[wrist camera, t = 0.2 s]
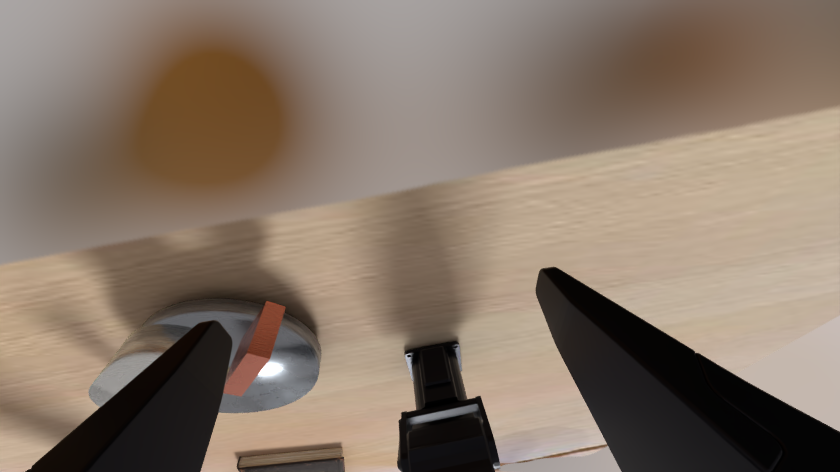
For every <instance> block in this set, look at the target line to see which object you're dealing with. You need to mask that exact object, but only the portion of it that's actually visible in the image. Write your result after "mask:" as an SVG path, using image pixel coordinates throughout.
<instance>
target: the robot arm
mask: <svg viewBox="0 0 840 472" xmlns="http://www.w3.org/2000/svg"><path fill="white" fill-rule="evenodd" d="M536 295H537V298H538V301H539V303H540V306H541V309H542V311H543V314H544V316H545V319H546V321H547V324H548V327H549V329H550V332H551V334H552V337H553V339H554V342H555V344H556V346H557V348H558V350H559V352H560V354H561V356H562V358H563V360H564V362H565V364H566V366H567V368H568V370H569V372H570V373H571V375H572V377H573V379H574V381H575V383H576V385H577V387H578V389H579V391H580V393H581V395H582V397H583V398H584V400H585V402H586V404H587V406H588V408H589V410H590V412H591V414H592V416H593V418H594V420H595V421H596V423H597V425H598V427H599V429H600V431H601V433H602V435H603V437H604V439H605V441H606V443H607V445H608V446H609V448H610V450H611V452H612V454H613V456H614V458H615V460H616V462H617V464H618V466H619V467H620V469H621V471H622V472H840V432H839V431H837V430H835V429H833V428H832V427H830V426H828V425H826V424H824V423H822V422H820V421H818V420H816V419H815V418H813V417H811V416H809V415H807V414H805V413H803V412H802V411H800V410H798V409H796V408H794V407H792V406H790V405H788V404H786V403H785V402H783V401H781V400H779V399H777V398H775V397H774V396H772V395H770V394H768V393H766V392H765V391H763V390H761V389H759V388H757V387H755V386H753V385H752V384H750V383H748V382H746V381H745V380H743V379H741V378H740V377H738V376H736V375H735V374H733V373H731V372H729V371H728V370H726V369H724V368H723V367H721V366H719V365H717V364H716V363H714V362H712V361H711V360H709V359H707V358H706V357H704V356H703V355H701V354H699V353H695V351H694V350H692V349H691V348H689V347H687V346H686V345H684V344H682V343H681V342H679V341H677V340H676V339H674V338H673V337H671V336H669V335H668V334H666V333H664V332H663V331H661V330H659V329H658V328H656V327H654V326H653V325H651V324H649V323H648V322H646V321H644V320H643V319H641V318H639V317H638V316H636V315H634V314H633V313H631V312H629V311H628V310H626V309H625V308H623V307H621V306H620V305H618V304H616V303H615V302H613V301H611V300H610V299H608V298H606V297H605V296H603V295H601V294H600V293H598V292H596V291H595V290H593V289H591V288H590V287H588V286H586V285H585V284H583V283H581V282H580V281H578V280H577V279H575V278H573V277H572V276H570V275H568V274H567V273H565V272H563V271H562V270H560V269H558V268H556V267H549V268H543V269H541V270H540V271H539V275H538V280H537V284H536ZM232 345H233V342H232V338H231V336H230V335H229V333H228V332H227V331H226V330H225V328H224V327H223V326H222V325H221V323H220V322H219V321H217V320H211V321H204V322H200V323H198V324H197V325H195V326H194V327H193V328H192V329H191V330H190V331H188V332H187V333H186V334H185V335H184V336H183V337H181V338H180V339H179V340H178V341H177V342H176V343H174V344H173V345H172V346H171V347H170V348H169V349H167V350H166V351H165V352H164V353H163V354H162V355H161V356H159V357H158V358H157V359H156V360H155V361H154V362H152V363H151V364H150V365H149V366H148V367H147V368H145V369H144V370H143V371H142V372H141V373H140V374H138V375H137V376H136V377H135V378H134V379H133V380H131V381H130V382H129V383H128V384H127V385H126V386H124V387H123V388H122V389H121V390H120V391H119V392H117V393H116V394H115V395H114V396H113V397H112V398H111V399H109V400H108V401H107V402H106V403H105V404H104V405H102V406H101V407H100V408H99V409H98V410H97V411H95V412H94V413H93V414H92V415H91V416H90V417H88V418H87V419H86V420H85V421H84V422H83V423H81V424H80V425H79V426H78V427H77V428H76V429H74V430H73V431H72V432H71V433H70V434H69V435H67V436H66V437H65V438H64V439H63V440H62V441H60V442H59V443H58V444H57V445H56V446H55V447H54V448H52V449H51V450H50V451H49V452H48V453H47V454H45V455H44V456H43V457H42V458H41V459H40V460H38V461H37V462H36V463H35V464H34V465H33V466H32V468H31V469H29V470H27V471H25V472H200V471H201V468H202V464H203V461H204V458H205V455H206V451H207V448H208V445H209V441H210V438H211V435H212V432H213V428H214V425H215V422H216V418H217V415H218V412H219V408H220V405H221V401H222V397H223V392H224V387H225V382H226V377H227V372H228V367H229V361H230V356H231V351H232ZM405 359H406V362H407V365H408V369H409V372H410V375H411V378H412V381H413V384H414V393H415V402H416V410H415V411H410V412H407V411H405V412H402V413H401V419H400V420H399V434H400V439H399V450H398V461H397V464H398V469H399V470H400V471H401V472H495V469H500V462H499V457H498V453H497V449H496V445H495V441H494V437H493V434H492V431H491V428H490V424H489V421H488V418H487V415H486V412H485V409H484V406H483V403H482V400H481V396H477V397H476V398H472V399H467V396H466V392H465V388H464V384H463V380H462V376H461V371H462V367H461V357H460V346H459V343H458V342H450V343H445V344H439V345H434V346H429V347H424V348H419V349H413V350H408V351H406V352H405Z"/></svg>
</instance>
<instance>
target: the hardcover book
mask: <svg viewBox="0 0 840 472" xmlns="http://www.w3.org/2000/svg"><path fill="white" fill-rule="evenodd" d="M237 469H238V470H239V472H345V467H344V457H343V454H342V448H331V449H321V450H311V451H300V452H290V453H279V454H269V455H258V456H248V457H239V460H238V463H237Z"/></svg>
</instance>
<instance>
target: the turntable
mask: <svg viewBox="0 0 840 472" xmlns="http://www.w3.org/2000/svg"><path fill="white" fill-rule="evenodd" d="M285 308H286V307H285V306H282V305H278V304H275V303H272V302H269V301H266V302H265V304H264V305H262V304H258V303H254V302H249V301H243V300H235V299H217V298H214V299H199V300H191V301H186V302H182V303H178V304H174V305H172V306H169V307H166V308H164V309H162V310H160V311H158V312H156V313H155V314H154V315H152V316H151V317H150V318H149V319H148V320H147V321H146V322H145V323H144V324H143V325H142V327H145V326H149V325H156V324H172V325H180V326H186V327H190V328H193V327H194V326H195V325H197V324H198V323H200V322H204V321H211V320H217V321H219V322H220V323H221V325H222V326H223V327H224V328H225V330H226V331H227V332H228V333H229V335H230V336H231V338H232V342H233V345H232V351H231V356H230V361H229V367H228V372H227V377H226V382H225V387H224V392H223V397H222V401H221V405H220V408H219V412H220V413H249V412H258V411H265V410H270V409H274V408H278V407H281V406H284V405H287V404H289V403H292V402H294V401H296V400H298V399H300V398H301V397H303V396H304V395H306V394H307V393H308V392H309V391H310V390H311V389H312V388H313V386H314V385H315V383H316V381H317V379H318V375H319V368H320V362H321V347H320V344H319V342H318V339H317V338H316V336H315V335H314V334H313V332H312V331H311V330H310V329H309V328H308V327H307V326H305V325H304V324H303V323H302V322H300V321H299V320H297V319H296V318H294V317H292V316H291V315H288V314H286V313H284V311H285ZM142 327H141V328H142Z"/></svg>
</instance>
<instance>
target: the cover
mask: <svg viewBox="0 0 840 472" xmlns="http://www.w3.org/2000/svg"><path fill="white" fill-rule="evenodd" d="M191 329H192V328H190V327H186V326H180V325H172V324H156V325H149V326H145V327H142V328H139V329H137V330H135V331H134V332H133V333H131V334H130V336H129V337H128V338H127V339H126V341H125V342H124V343H123V345H122V346H121V347H120V349H119V350H118V351H117V352H116V354H115V355H114V356H113V358H112V359H111V360H110V362H109V363H108V364H107V365H106V367H105V368H104V369H103V371H102V372H101V373H100V375H99V376H98V377H97V378H96V380H95V381H94V382H93V384H92V385H91V386H90V388H89V396H90V398H91V400H92V401H93V402H94V403H95V404H96V405H98V406H99V407H101V406H102V405H104V404H105V403H106V402H107V401H108V400H109V399H111V398H112V397H113V396H114V395H115V394H116V393H117V392H119V391H120V390H121V389H122V388H123V387H124V386H126V385H127V384H128V383H129V382H130V381H131V380H133V379H134V378H135V377H136V376H137V375H138V374H140V373H141V372H142V371H143V370H144V369H145V368H147V367H148V366H149V365H150V364H151V363H152V362H154V361H155V360H156V359H157V358H158V357H159V356H161V355H162V354H163V353H164V352H165V351H166V350H167V349H169V348H170V347H171V346H172V345H173V344H174V343H176V342H177V341H178V340H179V339H180V338H181V337H183V336H184V335H185V334H186V333H187V332H188V331H190V330H191Z"/></svg>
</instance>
